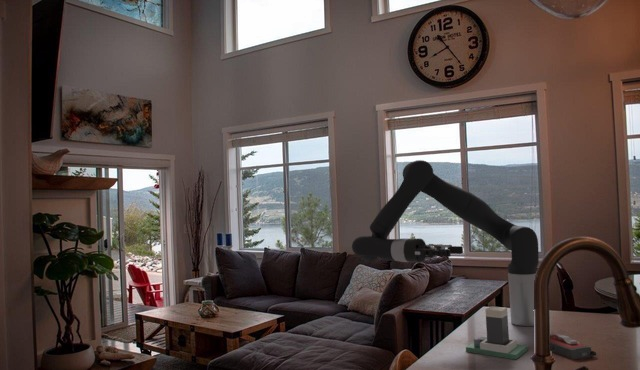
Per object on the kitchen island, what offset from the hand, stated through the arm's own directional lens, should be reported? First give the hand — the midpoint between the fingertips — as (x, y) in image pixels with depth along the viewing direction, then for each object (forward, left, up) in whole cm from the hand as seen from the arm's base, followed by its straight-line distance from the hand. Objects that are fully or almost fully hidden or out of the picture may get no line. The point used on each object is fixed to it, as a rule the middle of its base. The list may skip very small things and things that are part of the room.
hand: (456, 251), depth 147 cm
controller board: (-1, +10, -28) cm, 30 cm away
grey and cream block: (0, +11, -27) cm, 29 cm away
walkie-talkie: (-12, +25, -29) cm, 40 cm away
